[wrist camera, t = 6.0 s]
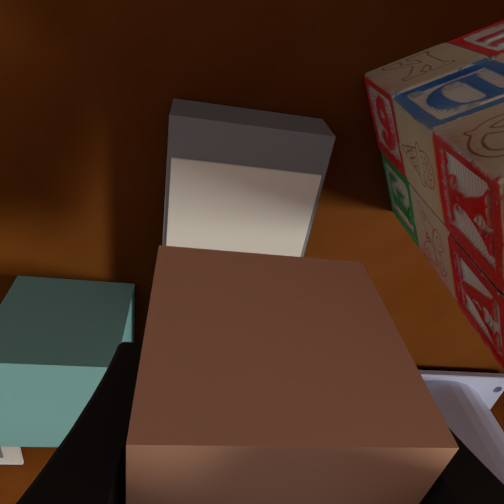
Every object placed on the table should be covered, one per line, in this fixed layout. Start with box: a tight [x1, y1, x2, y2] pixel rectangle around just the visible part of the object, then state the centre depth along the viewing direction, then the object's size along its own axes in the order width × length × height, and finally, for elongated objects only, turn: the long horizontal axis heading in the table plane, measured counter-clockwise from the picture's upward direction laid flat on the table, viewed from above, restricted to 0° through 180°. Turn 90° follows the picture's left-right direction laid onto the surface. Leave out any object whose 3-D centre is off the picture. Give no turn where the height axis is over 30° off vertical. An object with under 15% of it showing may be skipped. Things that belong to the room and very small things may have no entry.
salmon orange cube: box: [126, 245, 459, 504], centre depth 10 cm, size 5×5×5 cm
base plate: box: [162, 98, 336, 257], centre depth 19 cm, size 15×6×2 cm, turn 171°
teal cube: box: [0, 276, 135, 447], centre depth 19 cm, size 5×5×5 cm
